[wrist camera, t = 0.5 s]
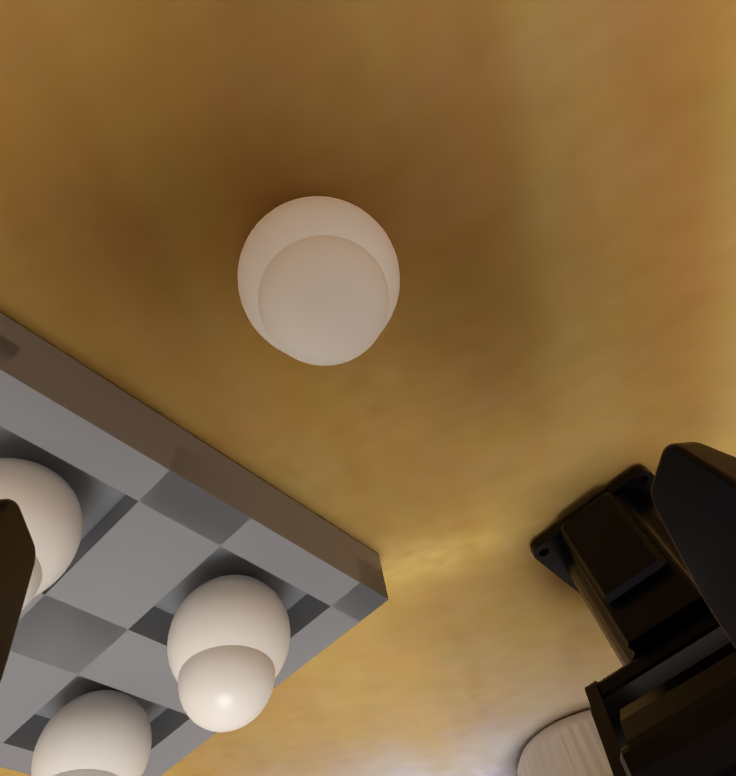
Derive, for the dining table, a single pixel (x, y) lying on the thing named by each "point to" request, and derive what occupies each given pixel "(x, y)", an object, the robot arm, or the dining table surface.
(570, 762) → the ramekin
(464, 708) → the dining table surface
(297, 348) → the cream game piece
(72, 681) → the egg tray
